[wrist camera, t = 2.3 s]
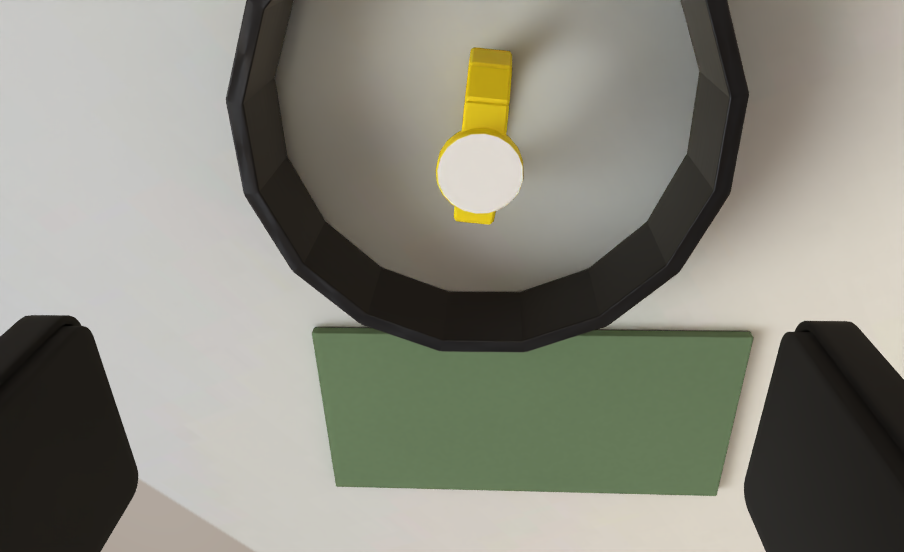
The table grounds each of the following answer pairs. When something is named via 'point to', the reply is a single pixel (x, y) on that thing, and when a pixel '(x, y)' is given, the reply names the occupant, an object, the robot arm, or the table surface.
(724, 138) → the pan
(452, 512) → the table surface
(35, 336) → the robot arm
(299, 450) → the table surface
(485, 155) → the watch
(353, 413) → the mat
